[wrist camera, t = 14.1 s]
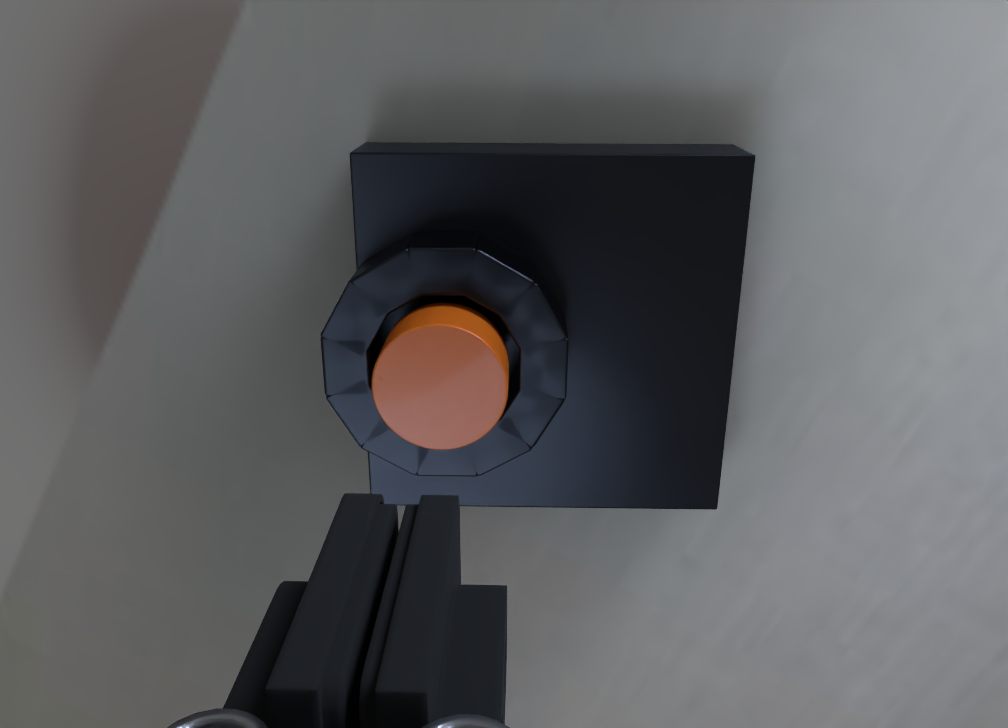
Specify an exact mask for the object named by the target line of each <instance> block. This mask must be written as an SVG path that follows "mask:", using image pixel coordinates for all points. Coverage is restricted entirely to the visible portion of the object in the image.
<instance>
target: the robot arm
mask: <svg viewBox="0 0 1008 728" xmlns="http://www.w3.org/2000/svg"><path fill="white" fill-rule="evenodd" d="M506 661H507V586H503V585H461V561H460V508H459V496H458V495H421V497H420V501H419V504H407V505H406V507H405V511H404V515H403V519H402V523H401V527H400V530H399V531H398V512H397V506H396V504H384V498H383V495H382V494H354V493H346V494H344V495H343V497H342V499H341V502H340V504H339V507H338V509H337V512H336V514H335V516H334V519H333V521H332V524H331V526H330V529H329V531H328V534H327V536H326V539H325V541H324V544H323V546H322V549H321V551H320V554H319V556H318V559H317V561H316V564H315V566H314V569H313V571H312V574H311V576H310V579H309V581H308V582H304V581H284V582H282V583H281V584H280V585H279V587H278V588H277V590H276V592H275V594H274V597H273V599H272V601H271V603H270V606H269V608H268V610H267V612H266V614H265V617H264V619H263V621H262V623H261V625H260V628H259V630H258V632H257V634H256V636H255V639H254V641H253V643H252V645H251V648H250V650H249V652H248V654H247V656H246V659H245V661H244V663H243V665H242V667H241V670H240V672H239V674H238V676H237V678H236V681H235V683H234V685H233V687H232V690H231V692H230V694H229V696H228V698H227V701H226V703H225V705H224V707H223V709H212V710H208V711H203V712H198V713H195V714H192V715H190V716H188V717H185V718H183V719H181V720H178V721H176V722H175V723H173V724H172V725H170V726H169V727H167V728H509V727H508V726H506V725H505V697H506Z"/></svg>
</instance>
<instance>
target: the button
mask: <svg viewBox="0 0 1008 728" xmlns="http://www.w3.org/2000/svg"><path fill="white" fill-rule="evenodd" d="M508 382H509V355H508V350H507V347H506V344H505V341H504V339H503V337H502V335H501V333H500V332H499V331H498V329H497V328H496V327H495V325H494V324H493V323H492V322H491V321H490V320H489V319H487V318H486V317H485V316H484V315H482V314H481V313H479V312H478V311H476V310H474V309H472V308H470V307H467V306H464V305H460V304H455V303H446V302H442V303H432V304H427V305H424V306H421V307H418V308H416V309H414V310H412V311H410V312H409V313H407V314H406V315H404V316H403V317H402V318H401V319H400V320H399V321H398V322H397V323H396V324H395V325H394V326H393V328H392V329H391V331H390V333H389V335H388V337H387V339H386V341H385V343H384V345H383V348H382V350H381V352H380V354H379V357H378V359H377V361H376V363H375V366H374V370H373V374H372V395H373V399H374V403H375V406H376V408H377V410H378V412H379V414H380V416H381V418H382V419H383V420H384V422H385V423H386V424H387V426H388V427H389V428H390V429H391V430H392V431H393V432H394V433H396V434H397V435H398V436H400V437H401V438H403V439H404V440H406V441H408V442H410V443H412V444H414V445H417V446H420V447H423V448H428V449H434V450H450V449H456V448H461V447H464V446H467V445H469V444H472V443H474V442H476V441H477V440H479V439H481V438H482V437H484V436H485V435H486V434H487V433H489V432H490V431H491V430H492V429H493V428H494V426H495V425H496V424H497V422H498V421H499V419H500V418H501V416H502V414H503V412H504V409H505V406H506V402H507V398H508Z"/></svg>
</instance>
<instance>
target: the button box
mask: <svg viewBox="0 0 1008 728" xmlns="http://www.w3.org/2000/svg"><path fill="white" fill-rule="evenodd" d="M754 163H755V155H753V154H751V153H749V152H747V151H745V150H743V149H741V148H739V147H737V146H735V145H732V144H554V143H376V142H366V143H364V144H363V145H361V146H360V147H358V148H357V149H355V150H354V151H352V152H351V153H350V168H351V184H352V201H353V217H354V233H355V250H356V266H357V270H356V272H355V273H354V275H353V276H352V278H351V279H350V280H349V282H348V284H347V286H346V287H345V289H344V291H343V293H342V295H341V297H340V299H339V301H338V302H337V304H336V306H335V308H334V310H333V312H332V314H331V316H330V317H329V319H328V321H327V323H326V325H325V327H324V329H323V331H322V333H321V351H322V363H323V376H324V388H325V394H326V399H327V400H328V402H329V403H330V404H331V406H332V407H333V409H334V410H335V412H336V413H337V414H338V416H339V417H340V419H341V420H342V422H343V423H344V424H345V426H346V427H347V429H348V430H349V432H350V433H351V434H352V436H353V437H354V439H355V440H356V442H357V443H358V444H359V446H361V448H362V449H364V450H366V451H368V462H369V478H370V494H382V495H383V498H384V504H396V505H407V504H419V501H420V497H421V495H458V496H459V506H492V507H570V508H648V509H717V505H718V496H719V487H720V477H721V468H722V459H723V450H724V440H725V431H726V422H727V413H728V404H729V394H730V385H731V376H732V367H733V357H734V348H735V339H736V330H737V320H738V311H739V302H740V293H741V283H742V274H743V265H744V256H745V247H746V237H747V228H748V219H749V210H750V200H751V191H752V182H753V173H754ZM442 302H446V303H455V304H460V305H464V306H467V307H470V308H472V309H474V310H476V311H478V312H479V313H481V314H482V315H484V316H485V317H486V318H487V319H489V320H490V321H491V322H492V323H493V324H494V325H495V327H496V328H497V329H498V331H499V332H500V333H501V335H502V337H503V339H504V341H505V344H506V347H507V350H508V355H509V382H508V398H507V402H506V406H505V409H504V412H503V414H502V416H501V418H500V419H499V421H498V422H497V424H496V425H495V426H494V428H493V429H492V430H491V431H490V432H489V433H487V434H486V435H485V436H484V437H482V438H481V439H479V440H477V441H476V442H474V443H472V444H469V445H467V446H464V447H461V448H456V449H450V450H434V449H428V448H423V447H420V446H417V445H414V444H412V443H410V442H408V441H406V440H404V439H403V438H401V437H400V436H398V435H397V434H396V433H394V432H393V431H392V430H391V429H390V428H389V427H388V426H387V424H386V423H385V422H384V420H383V419H382V418H381V416H380V414H379V412H378V410H377V408H376V406H375V403H374V399H373V395H372V374H373V370H374V366H375V363H376V361H377V359H378V357H379V354H380V352H381V350H382V348H383V345H384V343H385V341H386V339H387V337H388V335H389V333H390V331H391V329H392V328H393V326H394V325H395V324H396V323H397V322H398V321H399V320H400V319H401V318H402V317H403V316H404V315H406V314H407V313H409V312H410V311H412V310H414V309H416V308H418V307H421V306H424V305H427V304H432V303H442Z"/></svg>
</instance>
